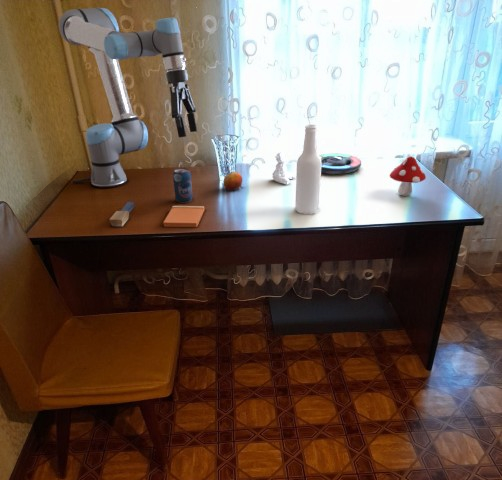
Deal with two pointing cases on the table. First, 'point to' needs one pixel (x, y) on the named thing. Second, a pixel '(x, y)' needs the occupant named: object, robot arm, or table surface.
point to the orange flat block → (184, 216)
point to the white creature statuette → (281, 170)
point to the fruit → (233, 181)
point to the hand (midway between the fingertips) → (188, 134)
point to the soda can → (182, 185)
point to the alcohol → (308, 174)
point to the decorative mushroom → (407, 175)
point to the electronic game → (339, 163)
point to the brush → (121, 215)
